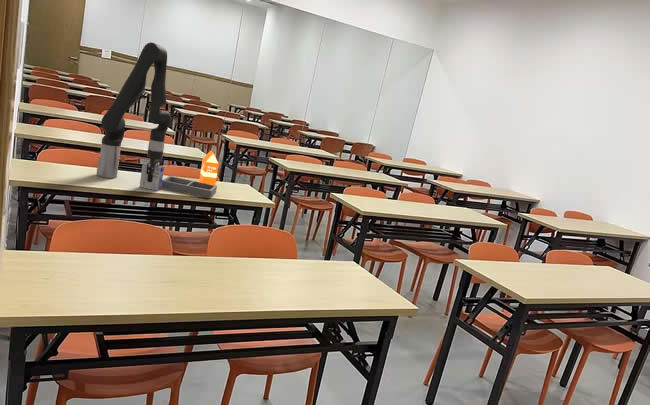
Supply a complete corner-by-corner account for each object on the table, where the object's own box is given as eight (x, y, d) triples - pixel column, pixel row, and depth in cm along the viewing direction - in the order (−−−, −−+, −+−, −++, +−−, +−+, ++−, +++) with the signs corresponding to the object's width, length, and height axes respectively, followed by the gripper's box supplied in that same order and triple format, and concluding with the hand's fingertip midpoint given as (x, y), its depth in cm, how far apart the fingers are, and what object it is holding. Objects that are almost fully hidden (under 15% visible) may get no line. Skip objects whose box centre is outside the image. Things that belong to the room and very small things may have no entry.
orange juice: (211, 183, 291) (217, 151, 287) (214, 187, 284) (220, 154, 279) (198, 182, 288) (203, 149, 283) (201, 186, 280) (207, 152, 275)
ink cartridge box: (161, 189, 256) (165, 162, 253) (157, 191, 251) (161, 164, 247) (143, 185, 256) (146, 158, 253) (138, 187, 250) (142, 159, 247)
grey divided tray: (160, 187, 258) (161, 180, 257) (168, 182, 272) (169, 175, 271) (210, 198, 260) (211, 190, 259) (215, 192, 273) (217, 185, 272)
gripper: (153, 145, 255) (149, 176, 259) (143, 149, 241) (139, 182, 245) (167, 148, 256) (163, 179, 260) (158, 152, 242) (154, 185, 246)
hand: (151, 180), depth 252 cm, fingers closed on ink cartridge box, 5 cm apart
